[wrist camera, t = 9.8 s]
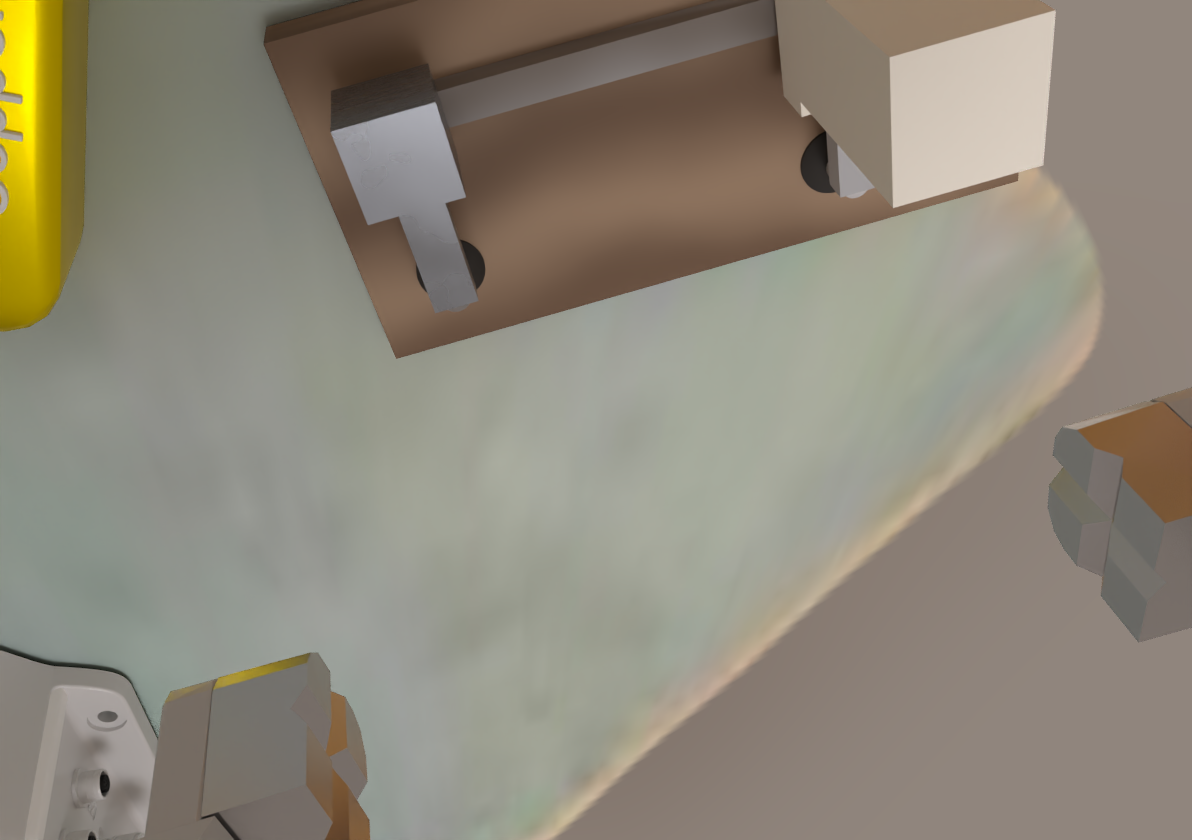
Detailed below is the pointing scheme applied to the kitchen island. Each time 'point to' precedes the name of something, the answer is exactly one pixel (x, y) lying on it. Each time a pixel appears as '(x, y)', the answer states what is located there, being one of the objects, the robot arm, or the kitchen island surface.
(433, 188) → the fixed leg
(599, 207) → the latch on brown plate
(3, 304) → the element tile
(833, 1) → the block
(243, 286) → the kitchen island surface
